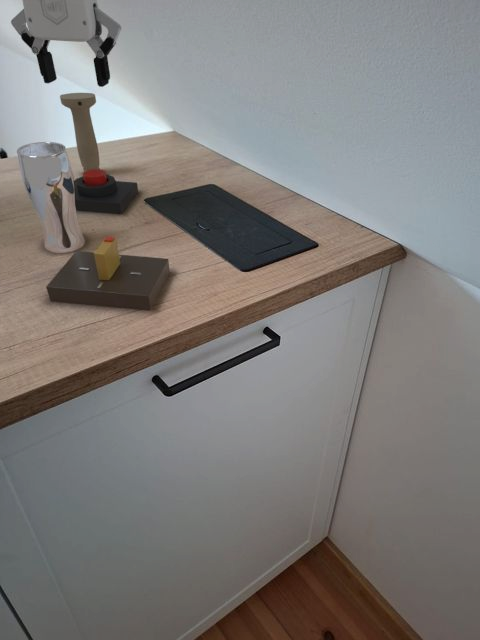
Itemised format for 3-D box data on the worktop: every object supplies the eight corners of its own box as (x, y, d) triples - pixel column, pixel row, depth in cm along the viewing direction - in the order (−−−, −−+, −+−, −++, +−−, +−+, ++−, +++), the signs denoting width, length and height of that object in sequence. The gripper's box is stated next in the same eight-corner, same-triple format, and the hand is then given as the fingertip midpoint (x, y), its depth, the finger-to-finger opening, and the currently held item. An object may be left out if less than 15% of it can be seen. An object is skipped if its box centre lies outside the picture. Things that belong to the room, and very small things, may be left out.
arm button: (81, 185, 88) (79, 176, 87) (89, 177, 92) (87, 168, 90) (102, 187, 88) (100, 178, 87) (110, 179, 91) (108, 170, 90)
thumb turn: (109, 280, 66) (103, 252, 64) (99, 279, 67) (93, 251, 64) (120, 263, 70) (115, 236, 67) (111, 262, 70) (105, 235, 67)
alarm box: (57, 210, 89) (52, 188, 86) (79, 189, 96) (75, 168, 94) (121, 215, 88) (118, 193, 85) (138, 193, 96) (135, 173, 93)
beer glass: (35, 242, 79) (7, 146, 70) (76, 230, 83) (55, 138, 73) (52, 259, 75) (25, 160, 66) (95, 246, 79) (75, 151, 69)
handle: (75, 171, 103) (58, 93, 94) (106, 168, 105) (93, 91, 96) (77, 180, 100) (60, 99, 90) (110, 176, 102) (96, 97, 92)
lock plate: (50, 302, 67) (45, 285, 65) (79, 265, 74) (75, 249, 72) (150, 311, 66) (148, 294, 64) (170, 273, 73) (168, 257, 72)
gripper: (-24, -59, 66) (14, 85, 77) (101, -54, 65) (121, 92, 76) (5, -59, 72) (36, 75, 83) (120, -54, 70) (136, 81, 82)
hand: (77, 82), depth 79 cm, fingers open, 8 cm apart
